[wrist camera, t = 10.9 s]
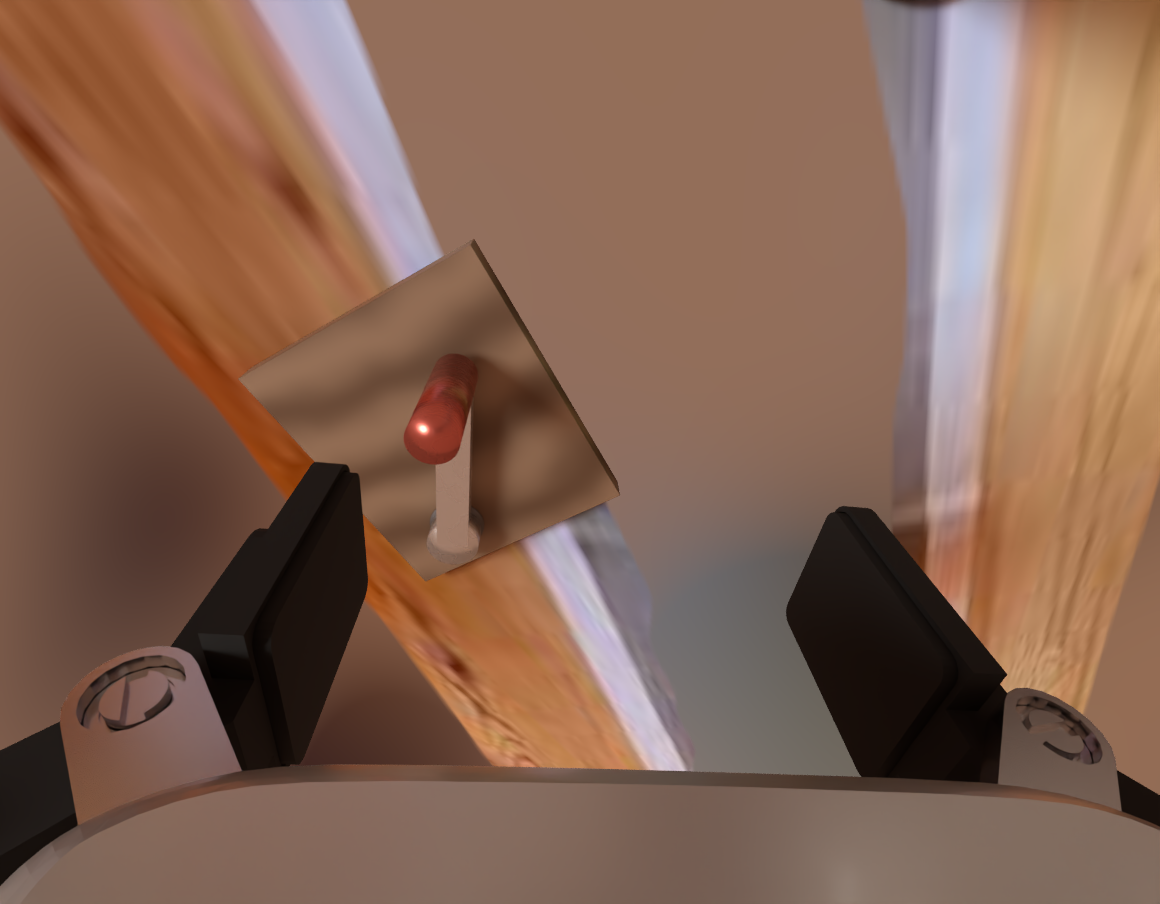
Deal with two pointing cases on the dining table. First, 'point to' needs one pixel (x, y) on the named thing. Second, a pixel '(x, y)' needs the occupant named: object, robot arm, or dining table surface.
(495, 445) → the lever board
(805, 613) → the robot arm
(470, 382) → the lever
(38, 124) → the dining table surface
